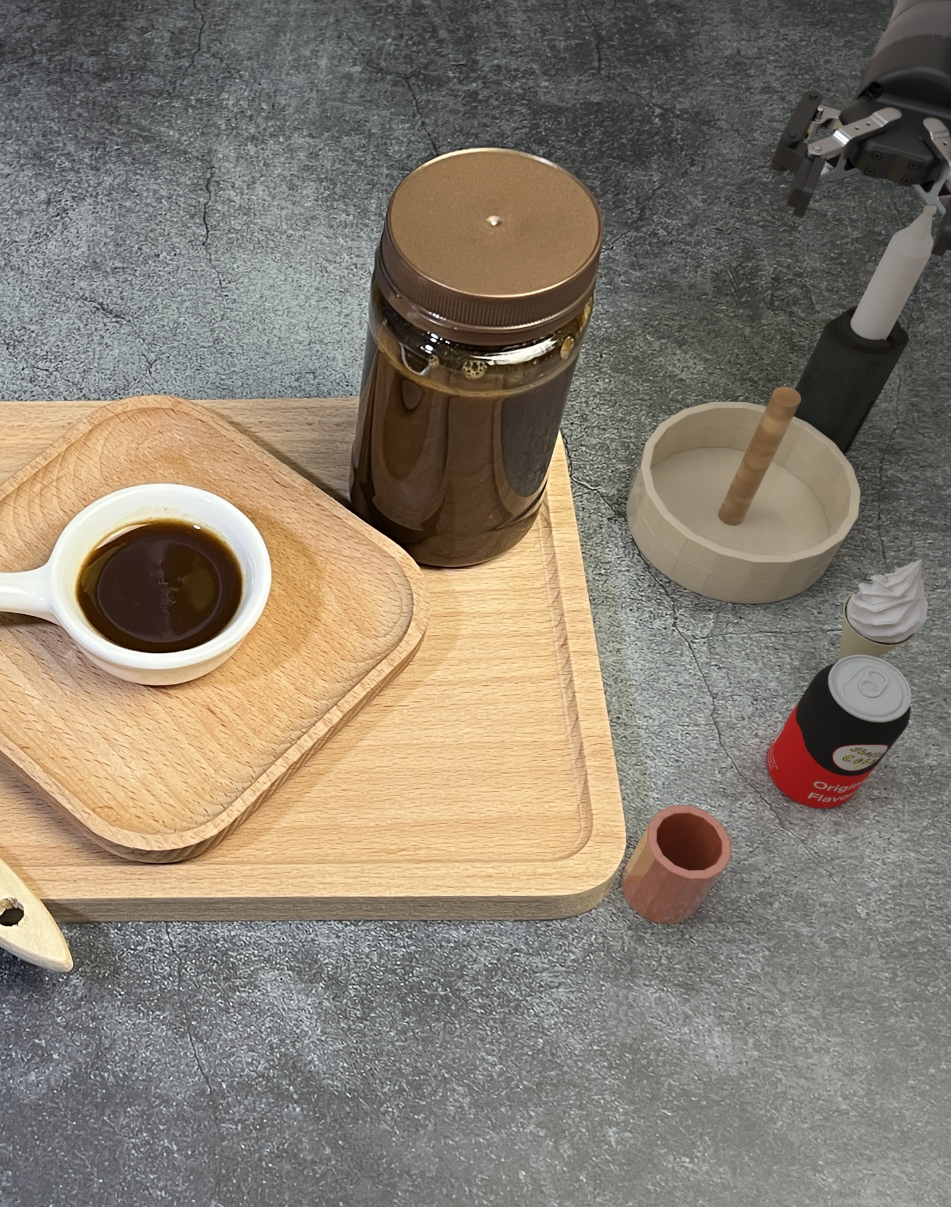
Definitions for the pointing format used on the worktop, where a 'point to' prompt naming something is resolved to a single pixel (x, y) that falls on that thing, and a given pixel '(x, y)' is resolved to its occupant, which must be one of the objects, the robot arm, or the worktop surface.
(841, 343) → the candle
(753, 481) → the stirring stick
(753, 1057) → the worktop surface
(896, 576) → the ice cream cone
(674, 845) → the utensil cup
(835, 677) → the beverage can
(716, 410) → the bowl
